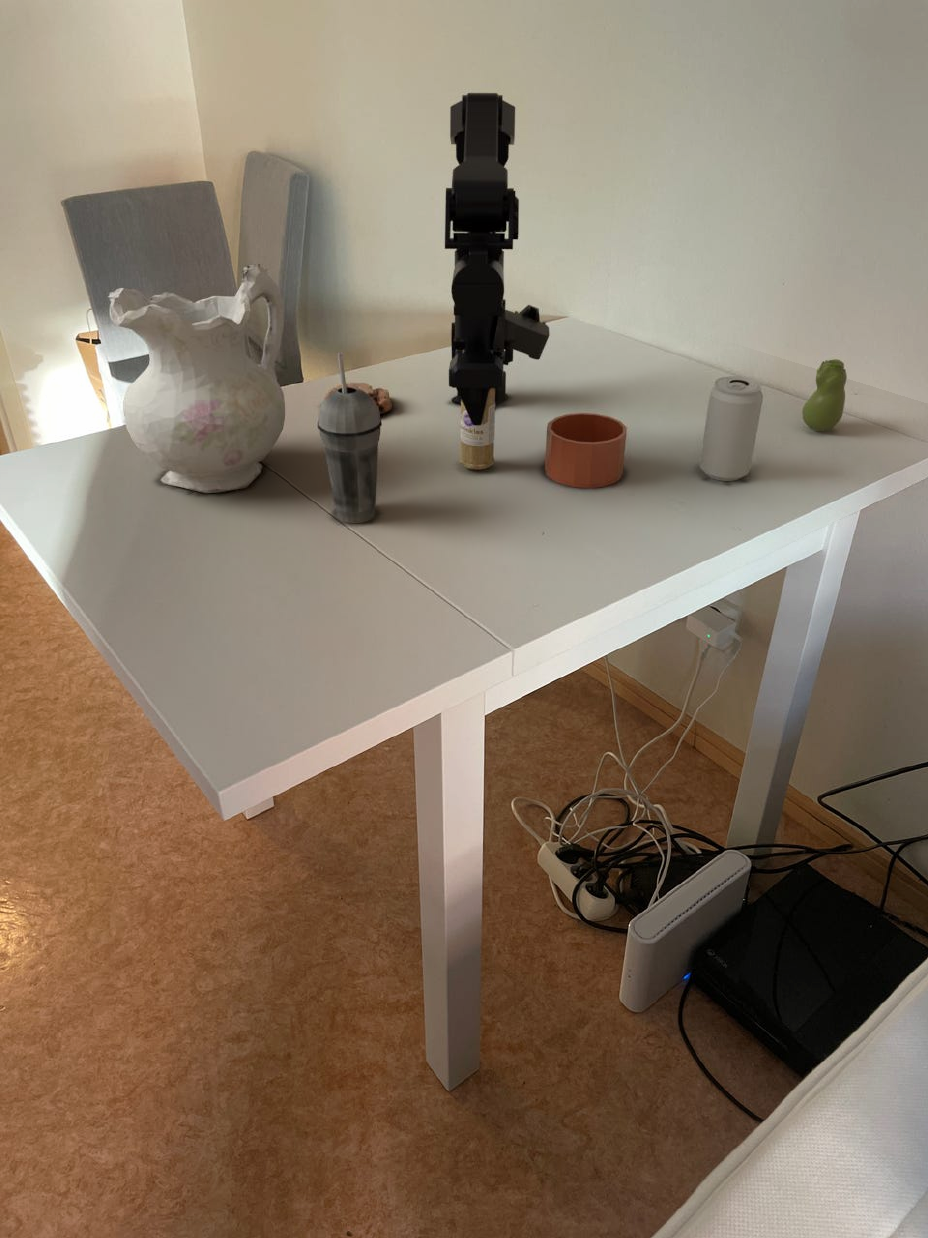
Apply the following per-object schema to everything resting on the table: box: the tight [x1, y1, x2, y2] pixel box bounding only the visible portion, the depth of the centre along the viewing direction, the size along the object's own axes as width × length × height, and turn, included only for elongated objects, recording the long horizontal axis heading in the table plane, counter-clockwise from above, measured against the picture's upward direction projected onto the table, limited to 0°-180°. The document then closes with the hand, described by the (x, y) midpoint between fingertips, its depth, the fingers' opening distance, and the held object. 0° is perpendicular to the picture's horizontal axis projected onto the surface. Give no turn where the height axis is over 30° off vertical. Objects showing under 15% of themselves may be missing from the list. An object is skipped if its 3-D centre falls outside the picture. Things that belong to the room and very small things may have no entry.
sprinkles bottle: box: [459, 388, 496, 470], centre depth 122 cm, size 5×5×13 cm
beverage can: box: [699, 375, 764, 482], centre depth 121 cm, size 6×6×12 cm
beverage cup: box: [317, 351, 383, 525], centre depth 109 cm, size 7×7×20 cm
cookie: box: [323, 382, 393, 415], centre depth 143 cm, size 10×11×3 cm
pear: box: [801, 358, 848, 432], centre depth 134 cm, size 6×5×10 cm
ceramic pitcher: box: [108, 263, 286, 494], centre depth 118 cm, size 22×20×25 cm
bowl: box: [544, 412, 628, 489], centre depth 123 cm, size 10×10×6 cm
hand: (477, 417), depth 122 cm, fingers closed on sprinkles bottle, 4 cm apart
